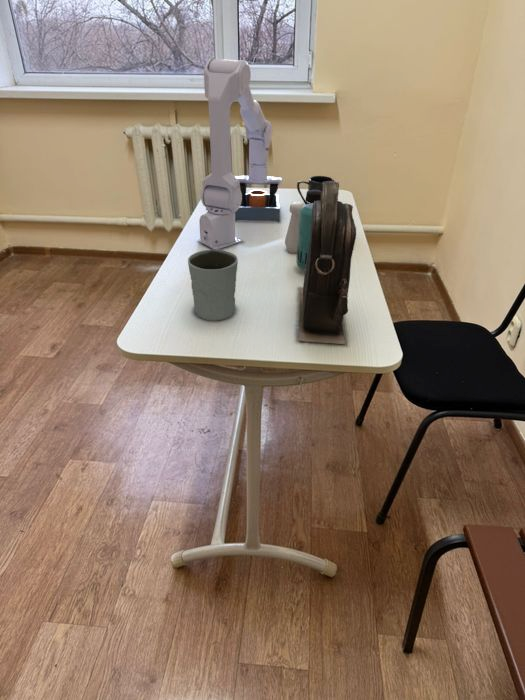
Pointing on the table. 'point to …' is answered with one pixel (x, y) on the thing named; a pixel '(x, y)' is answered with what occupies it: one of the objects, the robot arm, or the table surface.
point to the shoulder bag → (327, 269)
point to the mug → (314, 184)
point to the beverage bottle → (306, 227)
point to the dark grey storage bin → (259, 211)
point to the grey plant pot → (213, 283)
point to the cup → (257, 198)
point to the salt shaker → (293, 227)
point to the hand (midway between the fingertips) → (257, 207)
